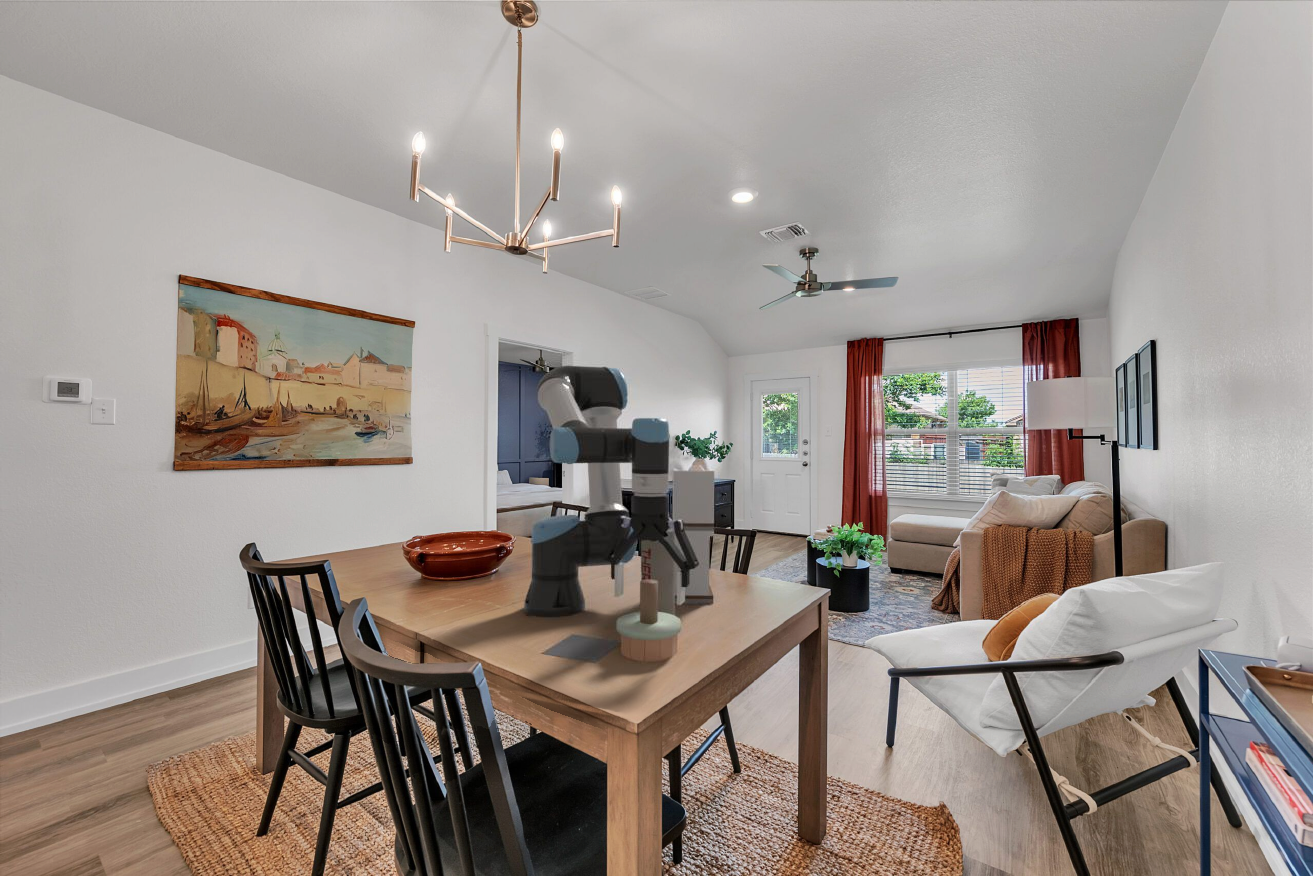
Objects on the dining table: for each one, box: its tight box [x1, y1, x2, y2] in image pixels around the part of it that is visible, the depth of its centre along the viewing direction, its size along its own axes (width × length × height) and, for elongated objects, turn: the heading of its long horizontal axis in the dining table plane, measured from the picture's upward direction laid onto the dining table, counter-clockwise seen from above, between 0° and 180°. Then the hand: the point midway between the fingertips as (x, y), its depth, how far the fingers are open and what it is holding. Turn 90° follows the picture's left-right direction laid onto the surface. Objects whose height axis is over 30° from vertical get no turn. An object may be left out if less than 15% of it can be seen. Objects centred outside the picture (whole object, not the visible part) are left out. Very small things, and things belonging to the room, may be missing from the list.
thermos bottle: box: [640, 504, 676, 616], centre depth 133 cm, size 8×8×28 cm
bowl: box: [620, 634, 678, 663], centre depth 115 cm, size 11×11×5 cm
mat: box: [541, 633, 621, 664], centre depth 116 cm, size 12×12×1 cm
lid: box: [616, 579, 682, 640], centre depth 115 cm, size 13×13×10 cm
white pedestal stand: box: [672, 468, 715, 604], centre depth 156 cm, size 11×11×35 cm
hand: (649, 599), depth 115 cm, fingers open, 13 cm apart
